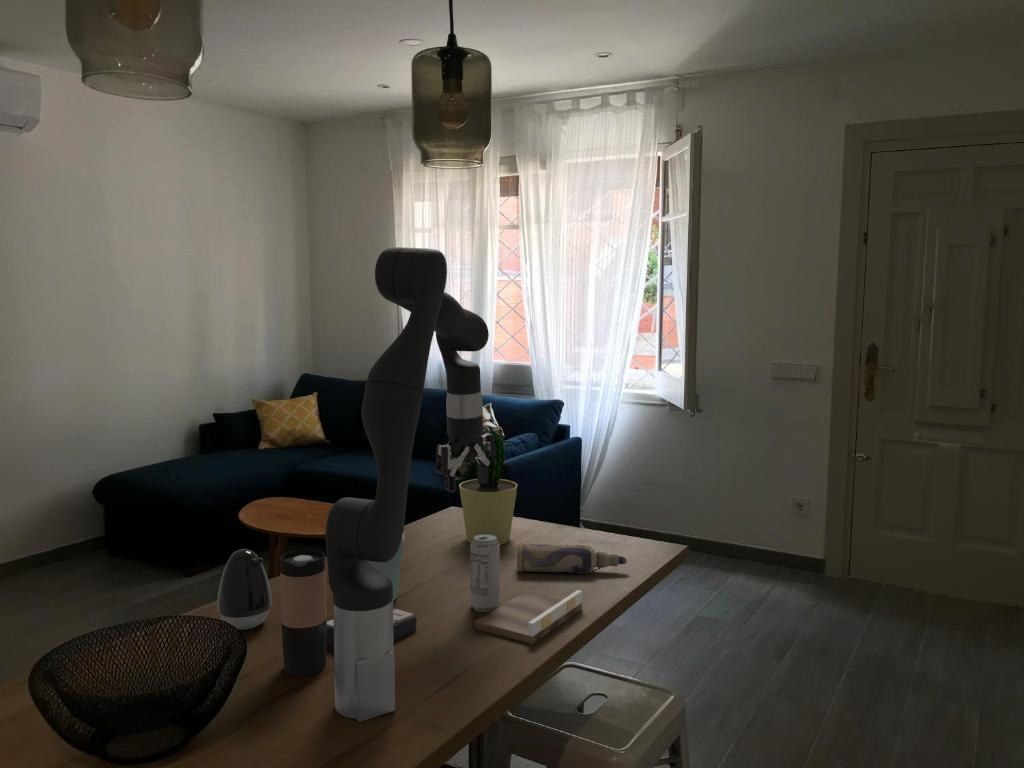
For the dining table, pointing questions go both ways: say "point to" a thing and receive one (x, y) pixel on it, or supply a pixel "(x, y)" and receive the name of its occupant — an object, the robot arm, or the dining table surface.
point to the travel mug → (303, 611)
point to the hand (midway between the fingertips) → (467, 486)
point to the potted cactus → (489, 500)
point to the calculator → (401, 626)
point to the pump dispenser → (244, 591)
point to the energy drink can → (484, 572)
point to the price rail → (554, 613)
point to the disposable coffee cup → (391, 568)
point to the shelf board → (522, 616)
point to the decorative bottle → (563, 558)
